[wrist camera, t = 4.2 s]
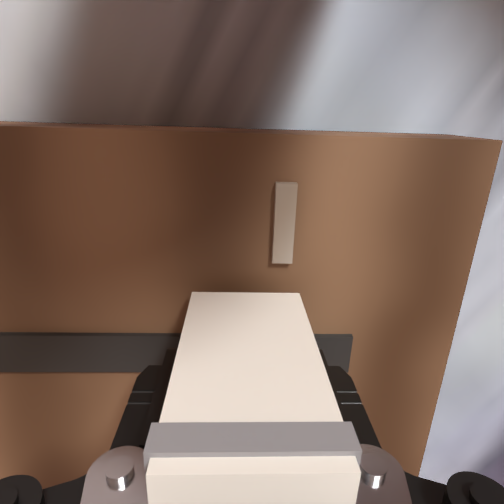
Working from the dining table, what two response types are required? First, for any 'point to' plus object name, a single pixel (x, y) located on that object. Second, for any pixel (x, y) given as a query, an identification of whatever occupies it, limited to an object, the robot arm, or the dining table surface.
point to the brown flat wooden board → (224, 265)
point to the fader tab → (250, 410)
